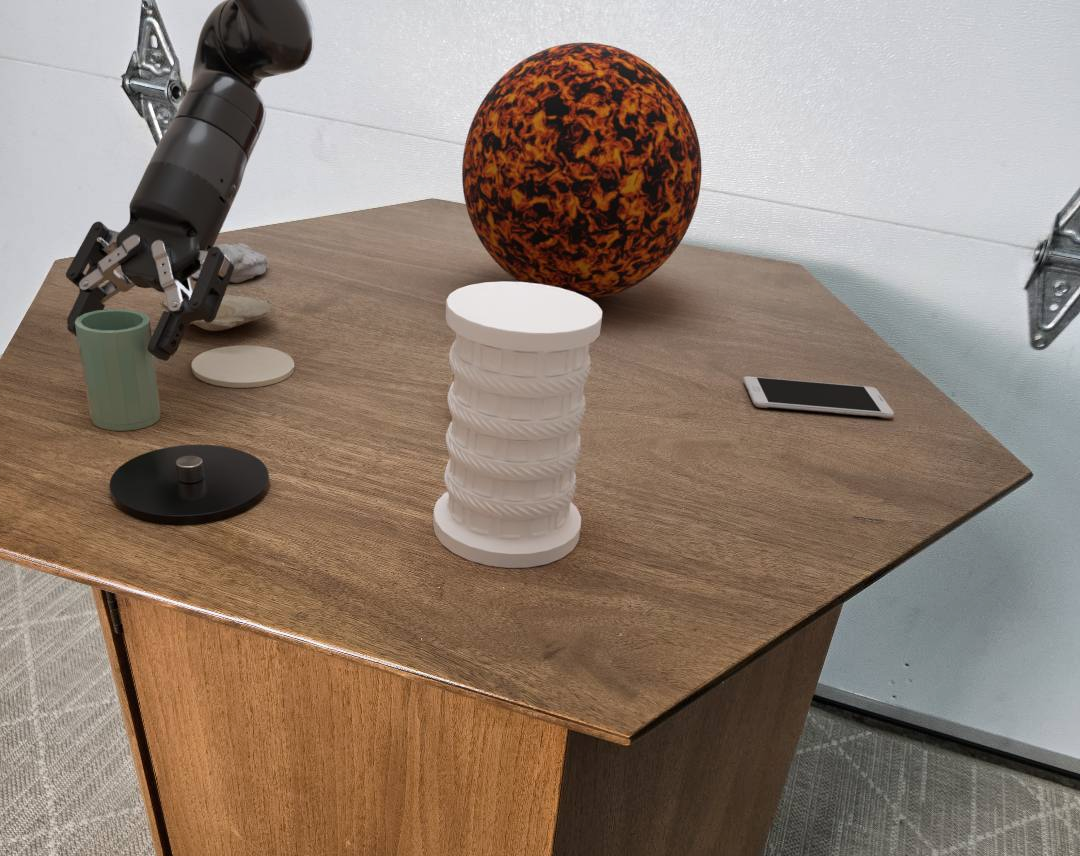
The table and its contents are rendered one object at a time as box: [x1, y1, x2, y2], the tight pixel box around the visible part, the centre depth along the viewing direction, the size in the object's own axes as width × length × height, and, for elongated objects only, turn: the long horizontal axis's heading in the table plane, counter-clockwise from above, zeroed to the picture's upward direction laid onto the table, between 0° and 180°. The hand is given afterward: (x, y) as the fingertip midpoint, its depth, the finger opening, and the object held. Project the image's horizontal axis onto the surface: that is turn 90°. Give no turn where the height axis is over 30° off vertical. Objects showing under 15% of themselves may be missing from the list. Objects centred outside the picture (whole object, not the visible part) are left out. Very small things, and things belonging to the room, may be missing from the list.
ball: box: [461, 42, 702, 300], centre depth 123 cm, size 30×30×30 cm
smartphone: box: [742, 375, 895, 419], centre depth 105 cm, size 8×1×15 cm
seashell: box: [159, 294, 276, 332], centre depth 109 cm, size 12×12×3 cm
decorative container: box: [432, 280, 603, 569], centre depth 73 cm, size 12×12×18 cm
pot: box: [75, 308, 162, 432], centre depth 86 cm, size 6×6×9 cm
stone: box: [190, 242, 270, 284], centre depth 124 cm, size 10×5×10 cm
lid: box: [108, 444, 270, 526], centre depth 78 cm, size 12×12×2 cm
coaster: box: [191, 344, 295, 389], centre depth 99 cm, size 10×10×1 cm
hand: (116, 345), depth 84 cm, fingers open, 8 cm apart
